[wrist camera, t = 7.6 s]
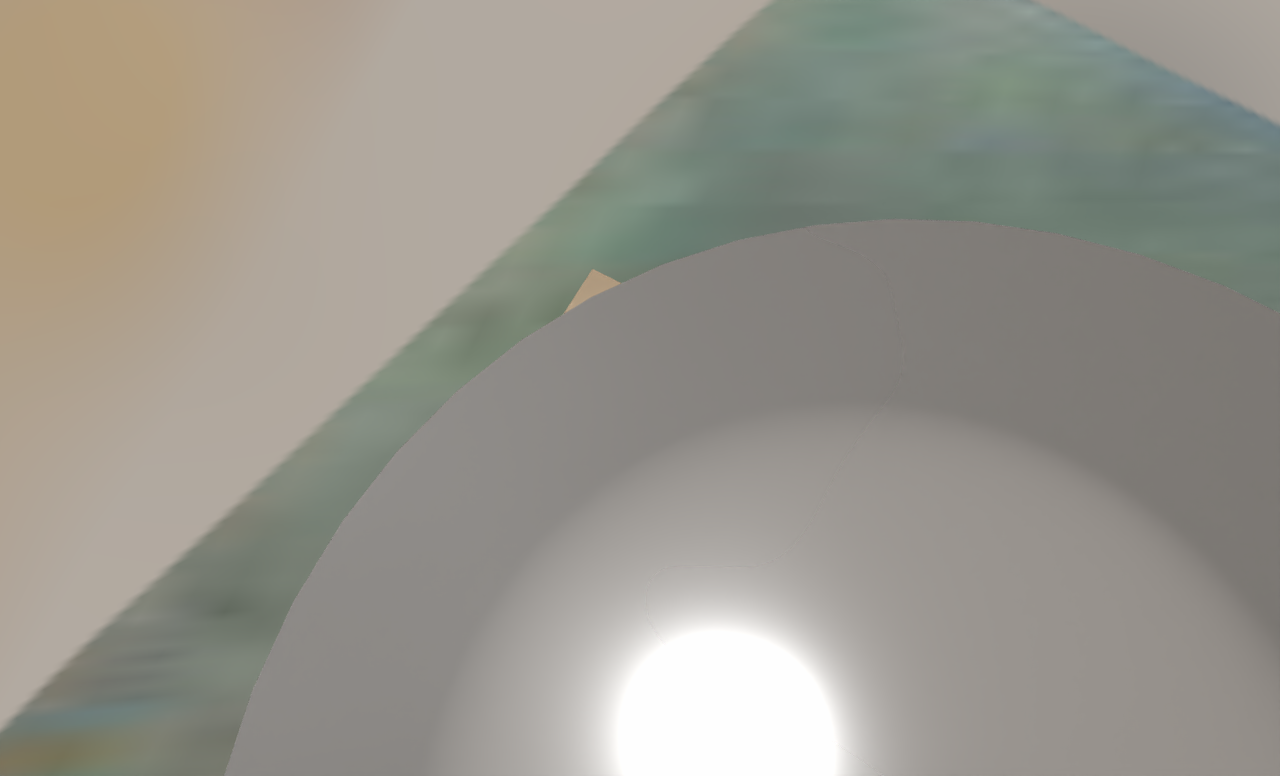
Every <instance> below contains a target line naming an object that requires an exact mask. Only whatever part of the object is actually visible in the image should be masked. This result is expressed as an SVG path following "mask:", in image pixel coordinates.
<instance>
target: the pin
mask: <svg viewBox="0 0 1280 776" xmlns="http://www.w3.org/2000/svg"><path fill="white" fill-rule="evenodd" d="M224 776H1280V313H1278V312H1276V311H1274V310H1272V309H1270V308H1268V307H1266V306H1264V305H1262V304H1260V303H1258V302H1256V301H1254V300H1252V299H1250V298H1248V297H1246V296H1244V295H1242V294H1240V293H1238V292H1236V291H1234V290H1232V289H1230V288H1227V287H1225V286H1223V285H1220V284H1218V283H1215V282H1212V281H1210V280H1207V279H1204V278H1202V277H1199V276H1196V275H1193V274H1191V273H1188V272H1185V271H1183V270H1180V269H1177V268H1175V267H1172V266H1169V265H1167V264H1164V263H1161V262H1158V261H1156V260H1153V259H1150V258H1148V257H1145V256H1142V255H1139V254H1135V253H1131V252H1127V251H1124V250H1120V249H1116V248H1112V247H1108V246H1104V245H1100V244H1096V243H1092V242H1088V241H1085V240H1081V239H1077V238H1073V237H1069V236H1065V235H1061V234H1057V233H1050V232H1043V231H1036V230H1029V229H1023V228H1016V227H1009V226H1002V225H995V224H988V223H981V222H971V221H941V220H912V219H886V220H874V221H861V222H849V223H836V224H824V225H813V226H808V227H803V228H798V229H793V230H788V231H783V232H778V233H773V234H767V235H762V236H757V237H752V238H747V239H742V240H737V241H734V242H731V243H728V244H725V245H722V246H718V247H715V248H712V249H709V250H706V251H703V252H700V253H697V254H694V255H691V256H687V257H684V258H681V259H678V260H675V261H672V262H669V263H666V264H663V265H660V266H658V267H656V268H654V269H652V270H650V271H647V272H645V273H643V274H641V275H639V276H636V277H634V278H632V279H630V280H628V281H626V282H623V283H621V284H619V285H617V286H615V287H613V288H610V289H608V290H606V291H604V292H602V293H599V294H597V295H595V296H593V297H591V298H589V299H587V300H586V301H584V302H583V303H581V304H579V305H578V306H576V307H574V308H573V309H571V310H569V311H568V312H566V313H565V314H563V315H561V316H560V317H558V318H556V319H555V320H553V321H552V322H550V323H548V324H547V325H545V326H543V327H542V328H540V329H539V330H537V331H535V332H534V333H532V334H530V335H529V336H527V337H526V338H524V339H522V340H521V341H520V342H518V343H517V344H516V345H515V346H513V347H512V348H511V349H510V350H508V351H507V352H506V353H504V354H503V355H502V356H501V357H499V358H498V359H497V360H496V361H494V362H493V363H492V364H491V365H489V366H488V367H487V368H486V369H484V370H483V371H482V372H480V373H479V374H478V375H477V376H475V377H474V378H473V379H472V380H470V381H469V382H468V383H467V384H465V385H464V386H463V387H462V388H460V389H459V390H458V391H457V392H456V393H455V394H454V395H453V396H452V397H451V398H450V399H449V400H448V401H447V402H446V403H445V404H444V405H443V406H442V407H441V408H440V409H439V410H438V411H437V412H436V413H435V414H434V415H433V416H432V417H431V418H430V419H429V420H428V421H427V422H426V423H425V424H424V425H423V426H422V427H421V428H420V429H419V430H418V431H417V432H416V433H415V434H414V435H413V436H412V437H411V438H410V439H409V440H408V441H407V442H406V443H405V444H404V445H403V446H402V447H401V448H400V449H399V450H398V451H397V452H396V453H395V455H394V456H393V457H392V459H391V460H390V461H389V462H388V464H387V465H386V466H385V468H384V469H383V470H382V471H381V473H380V474H379V475H378V476H377V478H376V479H375V480H374V482H373V483H372V484H371V485H370V487H369V488H368V489H367V491H366V492H365V493H364V494H363V496H362V497H361V498H360V500H359V501H358V502H357V503H356V505H355V506H354V507H353V508H352V510H351V511H350V512H349V514H348V515H347V516H346V517H345V519H344V520H343V521H342V523H341V524H340V526H339V528H338V529H337V531H336V533H335V534H334V536H333V538H332V539H331V541H330V542H329V544H328V546H327V547H326V549H325V551H324V552H323V554H322V556H321V557H320V559H319V561H318V562H317V564H316V565H315V567H314V569H313V570H312V572H311V574H310V575H309V577H308V579H307V580H306V582H305V583H304V585H303V587H302V588H301V590H300V592H299V593H298V595H297V597H296V598H295V600H294V602H293V604H292V606H291V608H290V610H289V612H288V615H287V617H286V619H285V621H284V623H283V625H282V628H281V630H280V632H279V634H278V636H277V638H276V641H275V643H274V645H273V647H272V649H271V651H270V654H269V656H268V658H267V660H266V662H265V664H264V666H263V669H262V671H261V673H260V675H259V677H258V679H257V682H256V684H255V686H254V688H253V690H252V693H251V696H250V699H249V702H248V705H247V708H246V711H245V714H244V717H243V720H242V723H241V726H240V729H239V732H238V735H237V738H236V741H235V745H234V748H233V751H232V754H231V757H230V760H229V763H228V766H227V769H226V772H225V775H224Z"/></svg>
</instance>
